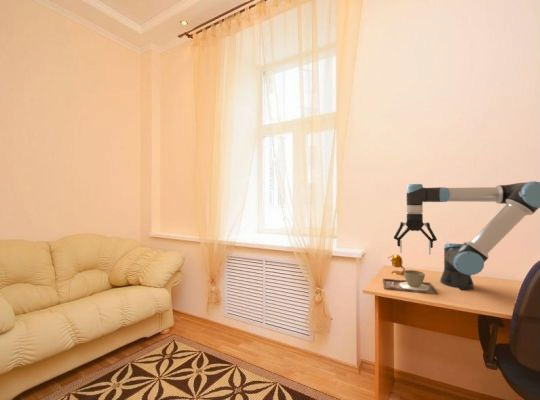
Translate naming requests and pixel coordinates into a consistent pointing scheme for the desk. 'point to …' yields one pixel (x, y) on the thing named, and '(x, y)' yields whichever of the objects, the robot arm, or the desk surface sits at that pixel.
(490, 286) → the desk surface
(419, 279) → the flower pot
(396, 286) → the tray
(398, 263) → the figurine
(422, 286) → the saucer
